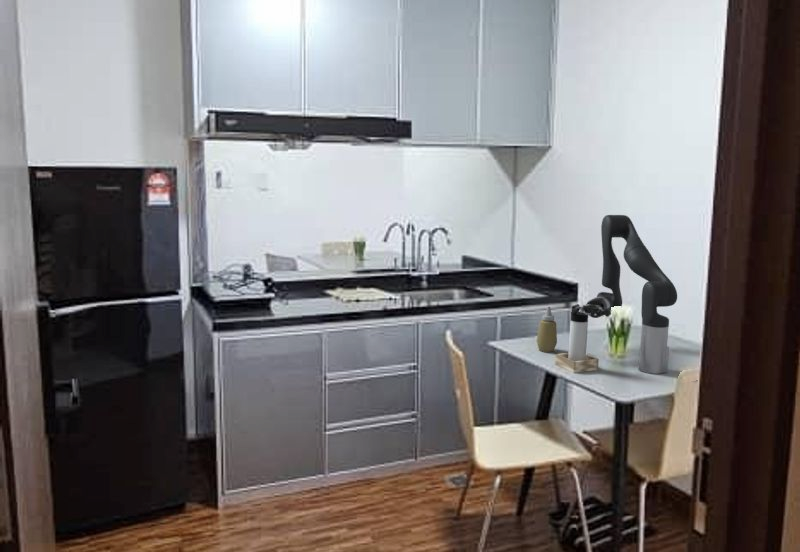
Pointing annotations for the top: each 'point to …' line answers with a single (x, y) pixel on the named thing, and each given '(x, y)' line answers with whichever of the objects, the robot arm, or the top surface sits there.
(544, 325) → the squeeze bottle
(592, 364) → the birch dock
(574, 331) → the travel mug
